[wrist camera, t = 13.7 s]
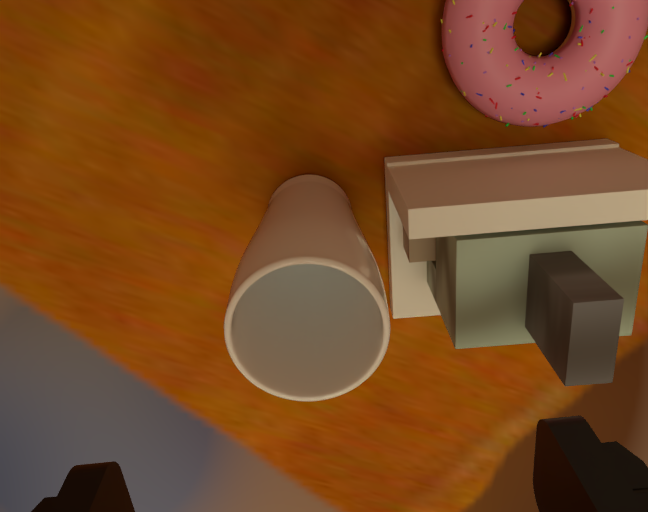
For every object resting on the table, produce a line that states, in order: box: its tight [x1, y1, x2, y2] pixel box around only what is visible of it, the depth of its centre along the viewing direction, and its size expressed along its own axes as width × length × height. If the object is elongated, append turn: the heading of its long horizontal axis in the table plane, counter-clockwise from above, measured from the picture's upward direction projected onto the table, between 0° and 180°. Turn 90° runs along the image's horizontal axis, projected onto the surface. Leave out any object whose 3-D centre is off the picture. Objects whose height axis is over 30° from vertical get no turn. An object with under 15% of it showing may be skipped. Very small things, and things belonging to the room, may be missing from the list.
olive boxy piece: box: [427, 220, 648, 386], centre depth 29 cm, size 6×9×13 cm, turn 95°
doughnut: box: [440, 0, 648, 127], centre depth 30 cm, size 11×11×4 cm
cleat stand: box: [384, 139, 648, 319], centre depth 32 cm, size 10×14×10 cm
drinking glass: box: [224, 174, 390, 401], centre depth 29 cm, size 7×7×15 cm
